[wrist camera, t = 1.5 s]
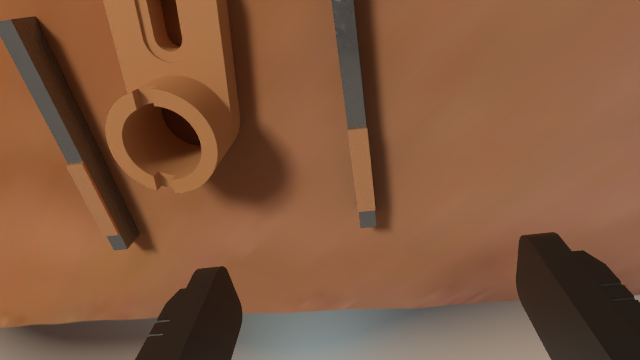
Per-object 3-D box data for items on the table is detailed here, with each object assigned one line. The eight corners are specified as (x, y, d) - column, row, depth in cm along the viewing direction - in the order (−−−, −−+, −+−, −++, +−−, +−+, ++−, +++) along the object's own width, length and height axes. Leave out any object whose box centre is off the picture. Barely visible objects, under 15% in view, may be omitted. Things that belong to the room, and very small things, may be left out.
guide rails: (18, 19, 30) (-11, 23, 28) (349, -42, 27) (349, -44, 24) (126, 235, 40) (112, 252, 38) (375, 211, 37) (377, 228, 35)
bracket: (245, 156, 35) (224, 194, 29) (160, 155, 36) (122, 191, 30) (219, -71, 27) (181, -85, 20) (107, -70, 27) (38, -83, 21)
